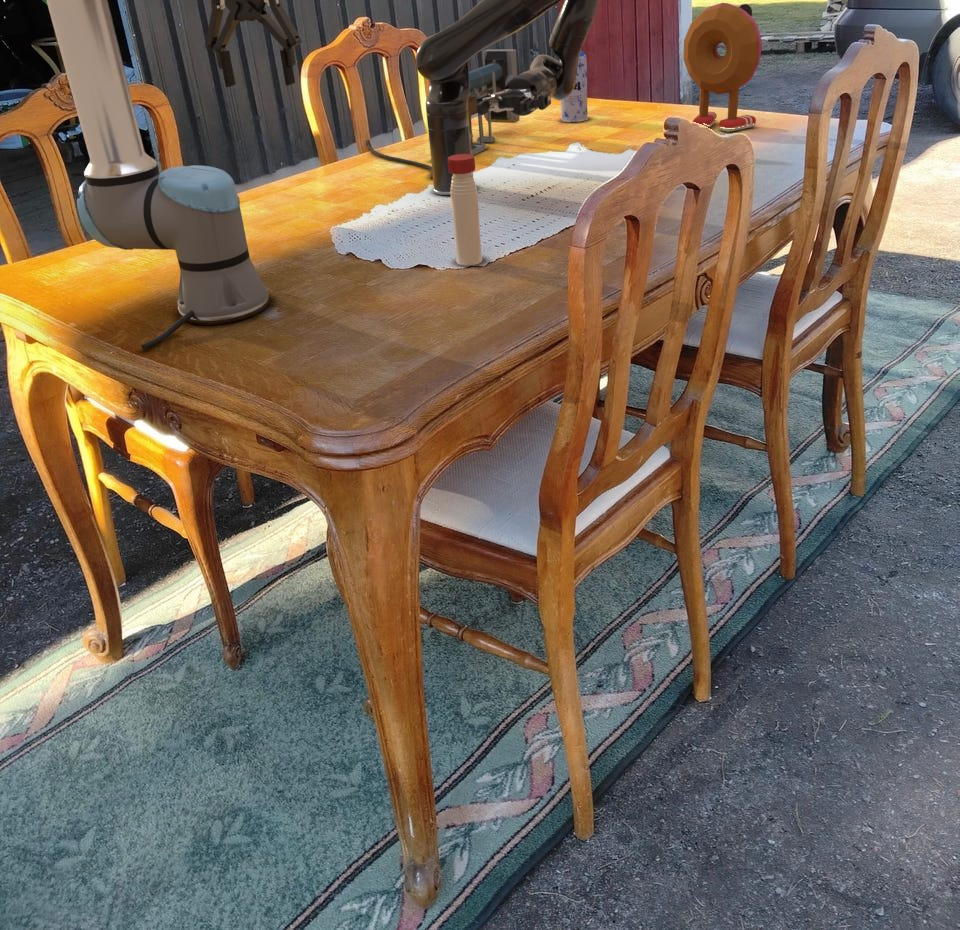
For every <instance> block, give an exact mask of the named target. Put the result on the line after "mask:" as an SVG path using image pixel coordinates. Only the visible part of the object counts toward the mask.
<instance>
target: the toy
mask: <svg viewBox="0 0 960 930" xmlns="http://www.w3.org/2000/svg"><path fill="white" fill-rule="evenodd" d="M752 16H753V10H752V7H751V5H749V4H747V3H743V4H741V5H740V6H737V5H734V4H731V3H728V2H719V3H716V4H714V5H710V6H708V7H706V8H705V9H703V11H702V12H700V14H698V15H697V16H696V17H695V18H694V19H693V20H692V22H691V23H690V25H689V27H688V29H687V32H686V34H685V37H684V39H683V56H682V58H683V59H682V60H683V62H684V65H685V68H686V71H687V74H688V76H689V77H690V78H691V79H692V81H693V82H694V83H695V84H696V85H697V86H698V88H699V97H698V98H699V99H698V103H699V106H698V109H699V110H698V114H697V116H696V117H695V118H693V120H692V123H693V122H696V123H699V124H702V125H704V124H703V123H705V124H707V125H710V126H707V125H704V126H706V127H709V128H708V129H710V128H711V127H712V126H713V125H714V124H715V123H716V122H717V119H716V118H717V117H718V116H717V113H716V112H714V111H709V107H710V92H711V93H713V94H716V95H725V94H728V104H727V118H723V119H721V120H719V122H718V130H720V131H723V132H727V133H731V132H735V131H739V130H744V129H749V128H755V127H756V124H757V118H756V117H755V116H754V115H749V114H744V115H738V107H739V94H740V93H739V91H740V88H742V87H743V86H745V85H747V84H748V83H749V82H750V81H751V79H752V78H753V77H754V76H755V73H756V71H757V69H758V68H759V65H760V61H761V58H762V48H763V42H762V36H761V33H760V30H759V26H758V24H757V22H756V21H755V18H753V17H752ZM721 44H723V45H724V46H725V54H724V55H720V54H719V52H718V47H719V45H721ZM715 119H716V120H715ZM753 124H754V125H753ZM747 125H749V126H747ZM742 126H744V127H742ZM720 127H725V128H735V129H723V128H720ZM738 127H740V128H738ZM730 131H731V132H730Z"/></svg>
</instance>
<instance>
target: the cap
mask: <svg viewBox="0 0 960 930" xmlns="http://www.w3.org/2000/svg"><path fill="white" fill-rule="evenodd" d="M448 170H449V173H451V174H466V173H471V172H473V173H474V172H475V171H476V160H475V155H472V154H457V155H452V156H450V157H448Z"/></svg>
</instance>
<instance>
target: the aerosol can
mask: <svg viewBox="0 0 960 930" xmlns="http://www.w3.org/2000/svg"><path fill="white" fill-rule="evenodd" d="M559 62H561V60H560V59H559ZM561 63H562V62H561ZM560 113H561V115H560V116H561V117H560V121H561V122H563V123H580V122H584V121H587V120H589V116H588V63H587V55H586V54H585V52H584V51H583V50H581V52H580V56H579V61H578V67H577V77H576V83H575V87H574V89H573V91H572V93H571V95H570V96H569V97H568V98H566V99H564V100H561V101H560Z"/></svg>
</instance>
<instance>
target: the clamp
mask: <svg viewBox="0 0 960 930" xmlns="http://www.w3.org/2000/svg"><path fill="white" fill-rule="evenodd" d="M482 57H483V66H481V67H477V68H475V69H472V70H469V93H474V94H471V95H469V98H468V115H469V127H470V140H471V153H472V155H474V156H475V155H477V154H479V153H481V152H483V151H485V150H486V149H487V147H486V146H487V145H486V143H493V142H495V141H496V140H497V139H496V137H495V136H493V133H492V123H499V124H500V123H502V124H504V123H505V124H517V123H518V122H520V120H521V119H520V116H519V115H516V114H514V113H512V112H511V111H507V110H506V111H501V112H494V111H489V112H487V113H486V114H484V115H479V113H477V111H476V104H475V98H477V97H479V96H481V95H483V94H485V93H487V92H489V93H491V95H492V94H493V93H498V92H502V91H503V90H504V89H505V86H506V85H507V83H508V82H509V81H510V80H511V79H513V78H514V77H516V76H518V62H517V61H518V60H517V50H516V49H512V48H511V49H500V48H499V49H497V48H495V49H484V50H483V51H482ZM489 108H490V107H489ZM499 108H501V106H499ZM474 115H477V120H478V134H479V136H477V139H476V141H474V140H473V138H474V134H473V129H472V128H473V127H472V116H474ZM483 117H484V119H485V120H486V121H487V127H488V136H487V135H484V125H483V124H484V123H483Z"/></svg>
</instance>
